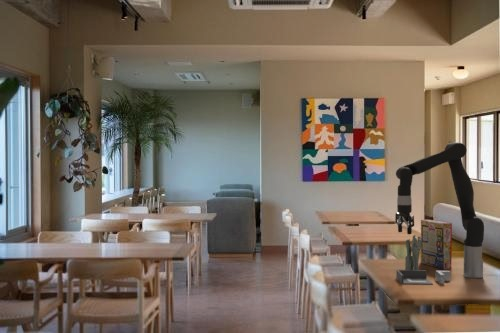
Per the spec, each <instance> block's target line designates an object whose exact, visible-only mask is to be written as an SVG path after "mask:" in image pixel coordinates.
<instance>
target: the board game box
mask: <svg viewBox="0 0 500 333" xmlns="http://www.w3.org/2000/svg"><path fill="white" fill-rule="evenodd" d="M452 227H453V224H452V223H451V222H445V221H439V220H433V219H421V220H420V237H421V240H422V243H421V250H420V264H423V265H427V266H431V267H435V268H437V269H440V270H451V269H452V251H453V250H452V249H453V248H452V244H453V243H452V241H453V240H452V238H453V237H452V235H453V234H452V233H453V231H452V230H453V229H452Z"/></svg>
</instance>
